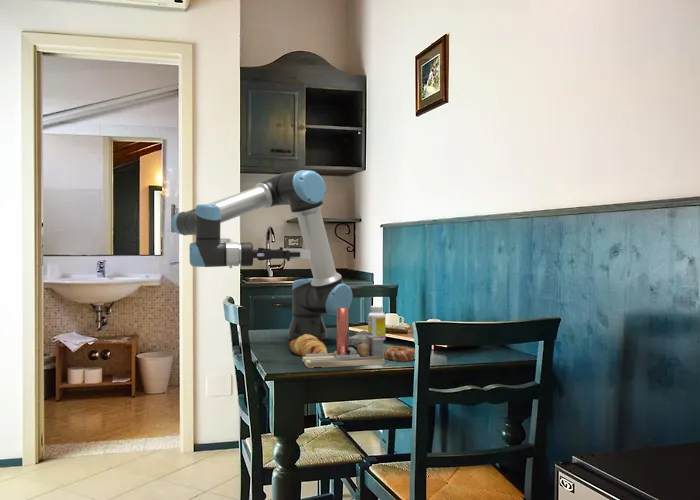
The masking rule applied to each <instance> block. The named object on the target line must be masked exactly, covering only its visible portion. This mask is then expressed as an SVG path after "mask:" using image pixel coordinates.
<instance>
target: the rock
mask: <svg viewBox="0 0 700 500" xmlns="http://www.w3.org/2000/svg"><path fill="white" fill-rule="evenodd" d="M370 335H373V334H372V333H371V332H369V331H368V330H365V329H364V330H361V331H357V332H356V333H355V334H354V335H352V336H351V337H350V338H348V348H351V347H353V348H354V349H357V347H358V345H359V344H361V343H366V344H367V336H370Z"/></svg>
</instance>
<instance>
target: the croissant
mask: <svg viewBox="0 0 700 500" xmlns="http://www.w3.org/2000/svg"><path fill="white" fill-rule="evenodd" d="M289 349H290V350H291V352H292V353H294V354H295V355H298V356H301V357H306V354H323V353H328V349H327V347H326V345H325V343H324V342H323V340H318V338H317V337H314V336H312V335H309V334H304V335H302V336H300V337H298V338H297V339H295V340H290V341H289Z"/></svg>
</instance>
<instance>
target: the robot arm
mask: <svg viewBox="0 0 700 500" xmlns="http://www.w3.org/2000/svg"><path fill="white" fill-rule="evenodd" d="M326 191H327V188H326V183H325V181H324V179H323V177H322V176H321V175H320V174H319V173H317V171H313V170H306V169H305V170H304V169H301V170H295V171H290V172H284V173H280V174H277V175H275V176H273V177H270V178H267V179H266V180H264V181H261V182H258V183H256V184H255V186H254V187H252V188H249V189H247V190H244V191H242V192H238V193H236V194H233V195H229V196H227V197H224V198H221V199H219V200H218V199H217V200H215V201H213V202H210V203H206V204H201V203H200V204H197V205H196V206H195V208H193V209H191V210H187V211H181V212H177V213H175V214H174V216H173V217H172V218H171V227H172V230H173V231H174V232H175V233H176V234H178V235H182V236H195V242H190V244H189V264H190V266H191V267H195V268H196V267H197V268H198V267H199V268H213V267H214V268H216V267H219V268H221V267H229V269H232V268H233V267H239V266H241V267H253V264H254V259H257V260H258V261H262V262H263V261H266V260H267V261H271V260H276V259H277V260H278V259H279V260H282V259H284V260H286V261H287V262H290V260H302V259H303V260H305V259H306V260H307V259H308V262H309V265H310V270H311V274H312V277H313V278H311V277H310V278H301V279H295V280H293V282H292V288H291V300H292V301H291V303H292V304H291V307H292V310H291V311H292V318H291V322H290V325H289V328H288V331H287V339H288V340H290V341H293V340H295V339H297V338H298V337H300V336H302V335H304V334H309V335H312V336H314V337H317V338H318V340H319V341H323V340H326V339H328V331H327V328H326V325H325V321H324V319H323V315H325V314H326V315H329V316H337V308H348V310H349V309H350V306H351V305H352V303H353V302H352V301H353V297H354V296H353V291H352V288H351V287H350V286H349V285H347V283H344V280H343V277H342V274H340V273H339V272H337V270H336V266H335V262H334V258H333V255H332V251H331V246H330V243H329V239H328V236H327V235H328V234H327V230H326V226H325V223H324V219H323V215H322V210H321V209H322V208H323V206H324V203H323V200H324V198H325V196H326V195H325V194H326ZM286 205H287V206H289V207H290V211H291V213H292V214H293V215H294V216H296V217H297V221H298V224H299V228H300V232H301V236H302V239H303V243H304V247H305V249H303V248H284V247H282V246H279V248H277V249H271V248H264V247H258V248H257V249H254V245H253V243H252V242H249V241H248V242H247V241H246V242H241V243H239V242H238V241H237V242H234V241H233V242H221V224H222V223H224V222H227V221H230V220H232V219H236V218H238V217H240V216H243V215H246V214H248V213H251V212H254V211H256V210H259V209H269V208H272V207H275V206H276V207H277V206H286Z"/></svg>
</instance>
